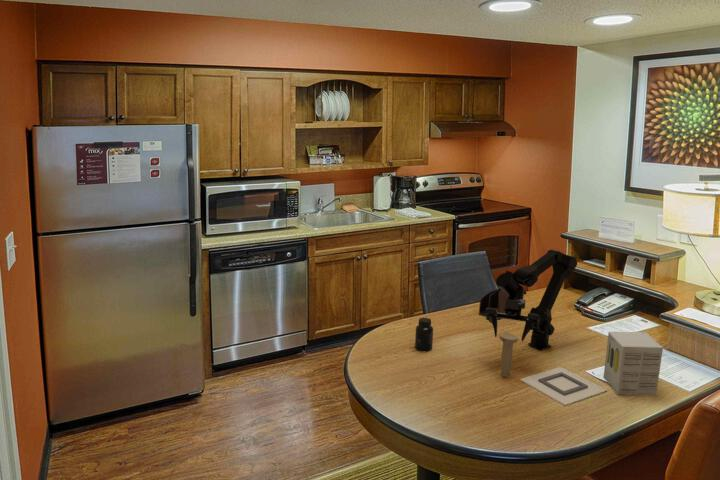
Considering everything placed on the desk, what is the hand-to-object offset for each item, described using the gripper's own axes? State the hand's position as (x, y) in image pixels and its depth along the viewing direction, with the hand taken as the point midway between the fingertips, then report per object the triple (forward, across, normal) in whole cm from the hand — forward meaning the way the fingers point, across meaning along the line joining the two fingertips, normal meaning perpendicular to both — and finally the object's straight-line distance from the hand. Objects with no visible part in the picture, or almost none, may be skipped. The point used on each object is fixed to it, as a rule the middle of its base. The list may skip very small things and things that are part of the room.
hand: (508, 338), depth 208 cm
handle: (+12, 0, +6) cm, 13 cm away
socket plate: (+12, +19, +6) cm, 23 cm away
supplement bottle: (+3, -33, +15) cm, 36 cm away
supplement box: (+6, +41, +12) cm, 43 cm away
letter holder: (-34, -12, +52) cm, 63 cm away
